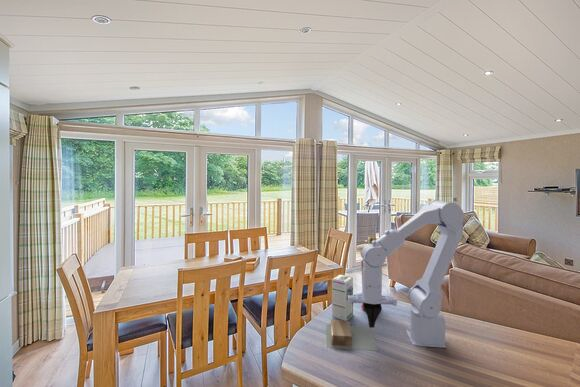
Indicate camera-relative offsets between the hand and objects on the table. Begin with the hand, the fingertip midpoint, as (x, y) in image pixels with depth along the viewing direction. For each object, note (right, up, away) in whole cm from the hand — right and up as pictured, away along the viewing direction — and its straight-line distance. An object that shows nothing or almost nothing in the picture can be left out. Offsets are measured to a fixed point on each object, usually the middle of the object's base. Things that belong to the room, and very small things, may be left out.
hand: (371, 325), depth 89 cm
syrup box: (-6, -4, +15) cm, 17 cm away
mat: (-6, -5, +1) cm, 8 cm away
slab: (-6, -3, +1) cm, 7 cm away
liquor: (+5, -3, +20) cm, 21 cm away
